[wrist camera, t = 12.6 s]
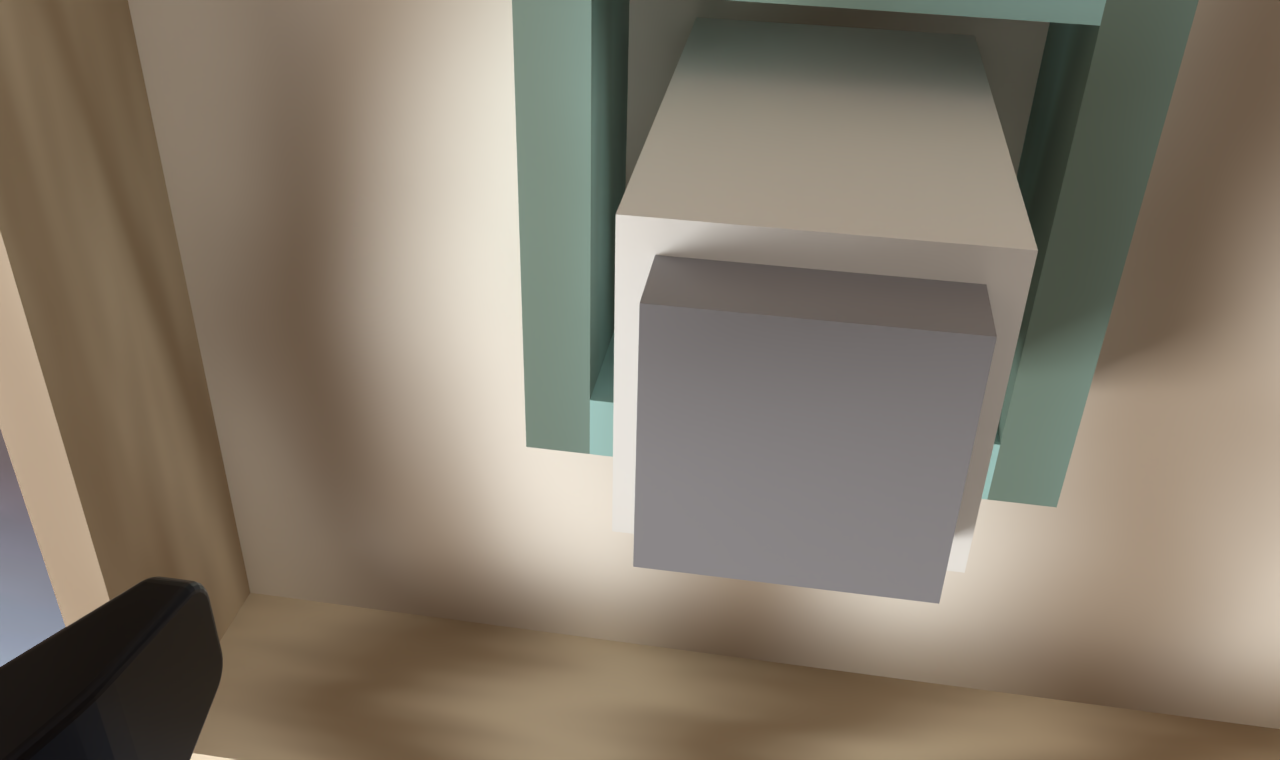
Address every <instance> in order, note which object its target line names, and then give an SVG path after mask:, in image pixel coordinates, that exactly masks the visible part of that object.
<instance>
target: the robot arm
mask: <svg viewBox="0 0 1280 760" xmlns="http://www.w3.org/2000/svg"><path fill="white" fill-rule="evenodd" d="M222 669H223V655H222V649H221V645H220V641H219V637H218V632H217V628H216V624H215V619H214V615H213V611H212V607H211V602H210V598H209V595H208V592H207V590H206V589H205V587H204V586H203V585H202V584H201V583H198V582H196V581H191V580H183V579H176V578H168V577H160V576H157V577H150V578H147V579H145V580H143V581H141V582H139V583H138V584H136V585H134V586H133V587H131V588H129V589H128V590H126V591H124V592H123V593H121V594H119V595H118V596H116V597H115V598H113V599H111V600H110V601H108V602H106V603H105V604H103V605H101V606H100V607H98V608H97V609H95V610H93V611H92V612H90V613H88V614H87V615H85V616H83V617H82V618H80V619H78V620H77V621H75V622H74V623H72V624H70V625H69V626H67V627H65V628H64V629H62V630H60V631H59V632H57V633H55V634H54V635H52V636H51V637H49V638H47V639H46V640H44V641H42V642H41V643H39V644H37V645H36V646H34V647H33V648H31V649H29V650H28V651H26V652H24V653H23V654H21V655H19V656H18V657H16V658H14V659H13V660H11V661H10V662H8V663H6V664H5V665H3V666H1V667H0V760H190V759H191V756H192V754H193V751H194V749H195V746H196V744H197V741H198V738H199V736H200V733H201V731H202V728H203V725H204V723H205V720H206V718H207V715H208V713H209V710H210V707H211V705H212V702H213V700H214V697H215V695H216V692H217V689H218V687H219V684H220V680H221V676H222Z"/></svg>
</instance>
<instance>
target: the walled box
mask: <svg viewBox="0 0 1280 760" xmlns="http://www.w3.org/2000/svg"><path fill="white" fill-rule="evenodd" d="M697 17H699V18H714V19H730V20H745V21H761V22H776V23H792V24H807V25H823V26H838V27H853V28H869V29H884V30H900V31H915V32H931V33H946V34H962V35H975V39H976V42H977V45H978V49H979V52H980V56H981V59H982V62H983V66H984V69H985V72H986V76H987V79H988V83H989V86H990V89H991V93H992V96H993V100H994V103H995V106H996V110H997V113H998V117H999V120H1000V123H1001V127H1002V130H1003V133H1004V137H1005V140H1006V144H1007V147H1008V150H1009V154H1010V157H1011V161H1012V164H1013V167H1014V171H1015V174H1016V177H1017V181H1018V184H1019V188H1020V191H1021V194H1022V198H1023V201H1024V205H1025V208H1026V211H1027V215H1028V218H1029V222H1030V225H1031V228H1032V232H1033V235H1034V238H1035V242H1036V245H1037V249H1038V253H1037V257H1036V261H1035V266H1034V270H1033V275H1032V279H1031V283H1030V288H1029V292H1028V297H1027V301H1026V305H1025V310H1024V314H1023V319H1022V323H1021V327H1020V332H1019V336H1018V341H1017V345H1016V349H1015V354H1014V358H1013V362H1012V367H1011V371H1010V376H1009V380H1008V384H1007V389H1006V393H1005V398H1004V402H1003V406H1002V411H1001V415H1000V420H999V424H998V428H997V433H996V437H995V441H994V446H993V450H992V455H991V459H990V463H989V468H988V472H987V477H986V481H985V485H984V490H983V494H982V499H981V503H980V507H979V512H978V516H977V521H976V525H975V529H974V534H973V538H972V542H971V547H970V551H969V556H968V560H967V564H966V569H965V573H963V572H954V571H946V575H945V579H944V584H943V589H942V593H941V598H940V602H939V604H938V603H929V602H921V601H913V600H904V599H896V598H888V597H880V596H871V595H863V594H855V593H847V592H838V591H830V590H822V589H814V588H805V587H797V586H789V585H780V584H772V583H764V582H756V581H747V580H739V579H731V578H723V577H714V576H706V575H698V574H690V573H681V572H673V571H665V570H656V569H648V568H640V567H633V553H634V534H631V533H623V532H614V531H612V494H613V403H614V312H615V222H616V212H617V210H618V207H619V205H620V202H621V200H622V198H623V195H624V193H625V190H626V188H627V185H628V183H629V181H630V178H631V176H632V173H633V171H634V168H635V166H636V164H637V161H638V159H639V156H640V154H641V151H642V149H643V147H644V144H645V142H646V139H647V137H648V134H649V132H650V130H651V127H652V125H653V122H654V120H655V117H656V115H657V113H658V110H659V108H660V105H661V103H662V101H663V98H664V96H665V93H666V91H667V88H668V86H669V84H670V81H671V79H672V76H673V74H674V71H675V69H676V67H677V64H678V62H679V59H680V57H681V54H682V52H683V50H684V47H685V45H686V42H687V40H688V37H689V35H690V33H691V30H692V28H693V25H694V23H695V20H696V18H697ZM0 429H1V432H2V435H3V438H4V441H5V444H6V447H7V450H8V453H9V456H10V459H11V462H12V465H13V468H14V471H15V474H16V477H17V480H18V483H19V486H20V489H21V492H22V495H23V498H24V502H25V505H26V508H27V511H28V514H29V517H30V520H31V523H32V526H33V529H34V532H35V535H36V538H37V541H38V544H39V547H40V550H41V553H42V556H43V559H44V562H45V565H46V568H47V571H48V574H49V577H50V581H51V584H52V587H53V590H54V593H55V596H56V599H57V602H58V605H59V608H60V611H61V614H62V617H63V620H64V623H65V626H66V627H67V626H69V625H70V624H72V623H74V622H75V621H77V620H78V619H80V618H82V617H83V616H85V615H87V614H88V613H90V612H92V611H93V610H95V609H97V608H98V607H100V606H101V605H103V604H105V603H106V602H108V601H110V600H111V599H113V598H115V597H116V596H118V595H119V594H121V593H123V592H124V591H126V590H128V589H129V588H131V587H133V586H134V585H136V584H138V583H139V582H141V581H143V580H145V579H147V578H150V577H157V576H160V577H168V578H176V579H183V580H191V581H196V582H198V583H201V584H202V585H203V586H204V587H205V589H206V590H207V592H208V595H209V598H210V602H211V607H212V611H213V615H214V619H215V624H216V628H217V632H218V637H219V641H220V645H221V649H222V655H223V669H222V676H221V680H220V684H219V687H218V689H217V692H216V695H215V697H214V700H213V702H212V705H211V707H210V710H209V713H208V715H207V718H206V720H205V723H204V725H203V728H202V731H201V733H200V736H199V738H198V741H197V744H196V746H195V749H194V751H193V754H192V756H191V759H190V760H1280V0H0Z"/></svg>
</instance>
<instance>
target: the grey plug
mask: <svg viewBox="0 0 1280 760" xmlns="http://www.w3.org/2000/svg"><path fill="white" fill-rule="evenodd" d="M1037 253H1038V249H1037V245H1036V242H1035V238H1034V235H1033V232H1032V228H1031V225H1030V222H1029V218H1028V215H1027V211H1026V208H1025V205H1024V201H1023V198H1022V194H1021V191H1020V188H1019V184H1018V181H1017V177H1016V174H1015V171H1014V167H1013V164H1012V161H1011V157H1010V154H1009V150H1008V147H1007V144H1006V140H1005V137H1004V133H1003V130H1002V127H1001V123H1000V120H999V117H998V113H997V110H996V106H995V103H994V100H993V96H992V93H991V89H990V86H989V83H988V79H987V76H986V72H985V69H984V66H983V62H982V59H981V56H980V52H979V49H978V45H977V42H976V39H975V35H962V34H946V33H931V32H915V31H900V30H884V29H869V28H853V27H838V26H823V25H807V24H792V23H776V22H761V21H745V20H730V19H714V18H699V17H697V18H696V20H695V23H694V25H693V28H692V30H691V33H690V35H689V37H688V40H687V42H686V45H685V47H684V50H683V52H682V54H681V57H680V59H679V62H678V64H677V67H676V69H675V71H674V74H673V76H672V79H671V81H670V84H669V86H668V88H667V91H666V93H665V96H664V98H663V101H662V103H661V105H660V108H659V110H658V113H657V115H656V117H655V120H654V122H653V125H652V127H651V130H650V132H649V134H648V137H647V139H646V142H645V144H644V147H643V149H642V151H641V154H640V156H639V159H638V161H637V164H636V166H635V168H634V171H633V173H632V176H631V178H630V181H629V183H628V185H627V188H626V190H625V193H624V195H623V198H622V200H621V202H620V205H619V207H618V210H617V212H616V222H615V312H614V403H613V494H612V531H614V532H623V533H631V534H634V553H633V567H640V568H648V569H656V570H665V571H673V572H681V573H690V574H698V575H706V576H714V577H723V578H731V579H739V580H747V581H756V582H764V583H772V584H780V585H789V586H797V587H805V588H814V589H822V590H830V591H838V592H847V593H855V594H863V595H871V596H880V597H888V598H896V599H904V600H913V601H921V602H929V603H938V604H939V602H940V598H941V593H942V589H943V584H944V579H945V575H946V571H954V572H963V573H965V569H966V564H967V560H968V556H969V551H970V547H971V542H972V538H973V534H974V529H975V525H976V521H977V516H978V512H979V507H980V503H981V499H982V494H983V490H984V485H985V481H986V477H987V472H988V468H989V463H990V459H991V455H992V450H993V446H994V441H995V437H996V433H997V428H998V424H999V420H1000V415H1001V411H1002V406H1003V402H1004V398H1005V393H1006V389H1007V384H1008V380H1009V376H1010V371H1011V367H1012V362H1013V358H1014V354H1015V349H1016V345H1017V341H1018V336H1019V332H1020V327H1021V323H1022V319H1023V314H1024V310H1025V305H1026V301H1027V297H1028V292H1029V288H1030V283H1031V279H1032V275H1033V270H1034V266H1035V261H1036V257H1037Z"/></svg>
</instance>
